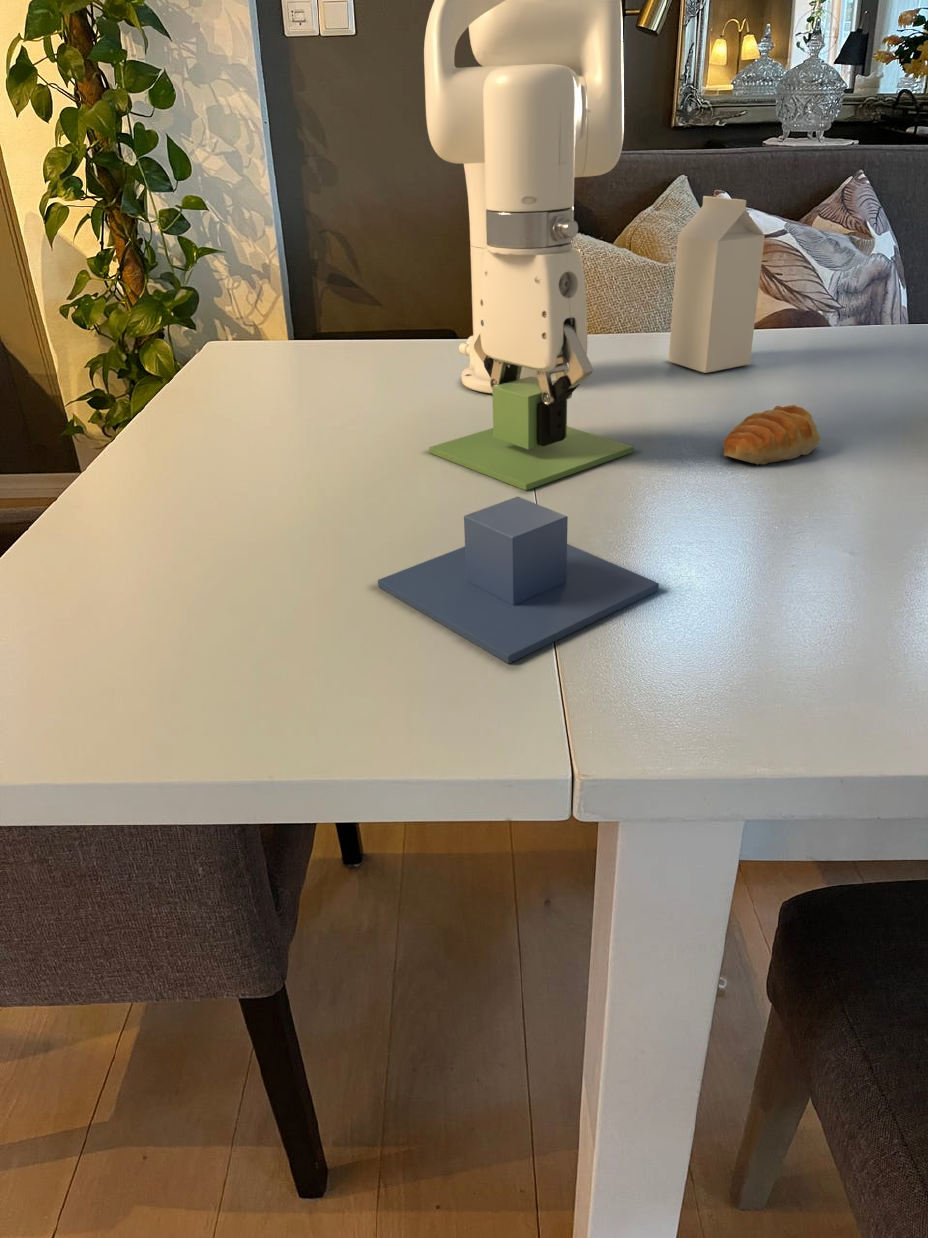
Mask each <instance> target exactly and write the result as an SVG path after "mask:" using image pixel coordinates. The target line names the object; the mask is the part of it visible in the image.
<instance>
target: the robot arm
mask: <svg viewBox="0 0 928 1238" xmlns="http://www.w3.org/2000/svg"><path fill="white" fill-rule="evenodd" d="M622 8H623V7H622V0H434V1H433V3H432V6H431V9H430V11H429V15H428V19H427V23H426V27H425V35H424V46H423V65H424V95H425V97H424V98H425V101H424V102H425V120H426V128H427V134H428V139H429V142H430V144H431V147H432V149H433V150H434V152H435V154H436V155H437V156H438V157H439V158H441V159H442V160H443V161H445V162H447V163H452V164H456V165H457V164H463V169H464V175H465V183H466V192H467V203H468V217H469V218H468V219H469V241H470V243H469V244H470V276H471V307H472V308H471V309H472V310H471V311H472V335H470V336H469V337H467V340H466V343H465V342H462V343H460V344H459V346H458V352H459V354H461V355H463V356H469V366H467V367H466V368H465V369H463V370H462V372H461V383H462V385H463V386H465V387H466V388H467V389H469V390H472V391H476V392H480V393H485V394H492V387H493V386H496V385H500V384H504V383H508V382H512V381H515V380H519V379H523V378H527V377H535V378H538V382H539V388H540V393H541V398H542V401H543V402H541V403H538V404H537V444H538V445H540V446H546V445H549V444H553V443H556V442H559V441H562V440H564V439H565V435H566V400H567V401H568V400H569V399H571V398H572V396H573V393H574V392H575V390H576V389H577V388H578V387H579V386H580V384H581V383H582V382H584V381H585V380H586V379H587V378H588V377H590V376H591V375H592V374H593V370H594V369H593V366H592V363H591V362H590V359H589V357H588V355H587V354H588V304H587V303H588V301H587V290H586V289H587V288H586V280H585V273H584V267H583V259H582V256H581V255H582V254H581V251H580V248H575V247H574V238H575V237H576V236H577V235H578V232H579V224H578V222H577V221H576V220H575V218H574V217H575V207H574V205H575V178H583V177H584V178H586V177H597V176H598V177H599V176H602V175H605V174H607V173H609V172H610V171H612V170H613V169H615V167H616V166H617V164H618V162H619V160H620V157H621V154H622V150H623V144H624V133H625V132H624V131H625V126H624V125H625V117H624V116H625V106H624V105H625V103H624V102H625V101H624V99H625V97H624V95H625V94H624V42H623V41H624V39H623V38H624V37H623V36H624V35H623V9H622ZM467 29H468V34H469V41H470V48H471V51H472V55H473V56H474V59H475V60H476V62H477V63H478V64H479V65H480V66H469V67H468V66H466V67H456V65H455V54H456V53H455V52H456V47H457V45H458V44H457V43H458V41H459V39H460V38H461V36H462V35H463V33H464V32H465V31H466V30H467ZM552 382H555V383H554V385H552Z"/></svg>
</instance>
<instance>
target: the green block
mask: <svg viewBox="0 0 928 1238" xmlns="http://www.w3.org/2000/svg"><path fill="white" fill-rule="evenodd" d="M554 383H555V382H552V385H554ZM491 395H492V396H491V397H492V428H493V438H496V439H499V440H502V441H505V442H507V443H510V444H513V445H516V446H519V447H522V448H525V449H528V450H529V449H532V448H535V447H538V446H540V445H538V444H537V404H538V403H541V402H543V401H542V398H541V393H540V388H539V382H538V378H535V377H527V378H523V379H519V380H515V381H512V382H508V383H504V384H500V385H496V386H493V387H492V393H491ZM567 426H568V399H567V400H566V435H565V438H566V437H567Z"/></svg>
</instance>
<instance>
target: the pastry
mask: <svg viewBox="0 0 928 1238" xmlns="http://www.w3.org/2000/svg"><path fill="white" fill-rule="evenodd" d="M820 442H821V435H820V433H819V432H818V427H817V425H816V424H815V422H814V420H813V416H812V414H811V413H810V412H809V411H808V410H806V409H805V408H804V407H801V406H798V405H795V404H790V405H785V406H780V405H776V406H775V407H773V408H772V409H770V410H764V411H762V412H755V413H751V414H750V415H748V416H746V417H745V418H744V420H742V421H741V422H740V423H738V425H736V426H735V427H734V428H733V429H732V430H731V431H730V432H729V433H728V435H727V436H726V438H725V439H724V440H723V457H730V458H733V459H735V460H740V461H744V462H746V463H750V464H756V466H758V465H767V464H768V463H781V462H783V461H789V460H793V459H796V458H799V457H800V456H802V455H803V456H806V455H809V454H810V453H811V452H812V451H813V450H814V449H815V448H816V447H817V446H818V445H819V443H820Z"/></svg>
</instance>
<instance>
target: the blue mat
mask: <svg viewBox="0 0 928 1238" xmlns="http://www.w3.org/2000/svg"><path fill="white" fill-rule="evenodd" d="M377 585H378V588H379V589H381V590H382V591H384V592H386V593H387V594H389V595H391V596H393V597H394V598H396V599H397V600H400V601H401V602H403V603H405V604H407V605H408V606H410V607H412V608H413V609H415V610H417V611H418V612H420V613H422V614H424V615H425V616H427V617H428V618H429V619H432V620H434V621H435V622H436V623H439V624H440V625H442V626H443V627H445V628H447V629H448V630H450V631H452V632H454V633H456V634H457V635H459V636H461V637H462V638H464V639H465V640H467V641H469V642H470V643H472V644H474V645H476V646H478V647H479V648H481V649H483V650H484V651H486V652H488V653H490V654H491V655H493V656H494V657H496V658H498V659H500V661H503V662H504V663H506V664H509V665H510V664H511V663H513V662H516V661H518V660H520V659H522V658H523V657H526V656H528V655H530V654H532V653H534V652H537V651H538V650H540V649H543V648H544V647H546V646H548V645H550V644H552V643H555V642H556V641H558V640H561V639H562V638H564V637H567V636H568V635H571V634H573V633H574V632H577V631H579V630H581V629H584V628H585V627H586V626H589V625H591V624H593V623H595V622H597V621H600V620H602V619H604V618H606V617H607V616H609V615H611V614H614V613H615V612H618V611H620V610H622V609H624V608H626V607H627V606H630V605H632V604H634V603H636V602H638V601H640V600H643V599H644V598H646V597H648V596H650V595H652V594H654V593H656V592H658V591H659V589H660V583H659V582H657V581H655V580H652V579H650V578H648V577H646V576H643V575H640V574H639V573H636V572H634V571H631V570H629V569H627V568H624V567H622V566H620V565H618V564H615V563H612V562H610V561H608V560H606V559H603V558H602V557H599V556H597V555H594V554H592V553H589V552H588V551H585V550H582V549H580V548H578V547H576V546H573V545H571V544H568V543H567V574H566V582H565V583H563V584H561V585H558V586H556V587H554V588H552V589H549V590H547V591H545V592H543V593H541V594H538V595H536V596H534V597H532V598H529V599H527V600H525V601H523V602H520V603H518V604H516V605H512V604H510V603H508V602H506V601H504V600H502V599H500V598H498V597H496V596H495V595H493V594H491V593H489V592H487V591H485V590H483V589H481V588H479V587H477V586H475V585H474V584H472V583H470V582H468V581H467V580H466V558H465V546H461V547H459V548H456V549H454V550H452V551H449V552H447V553H443V554H441V555H439V556H436V557H433V558H431V559H429V560H426V561H423V562H421V563H418V564H415V565H413V566H410V567H408V568H405V569H402V570H400V571H398V572H394V573H393V574H389V575H387V576H384V577H382V578H379V579H377Z"/></svg>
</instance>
